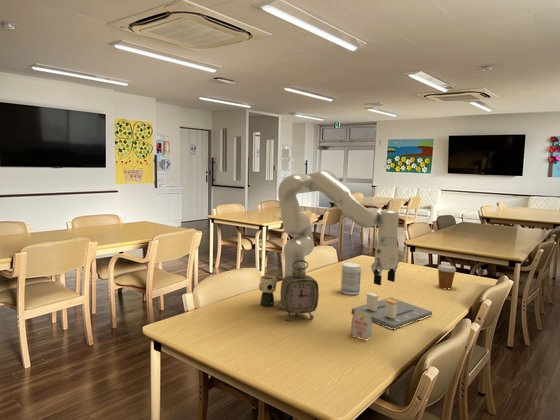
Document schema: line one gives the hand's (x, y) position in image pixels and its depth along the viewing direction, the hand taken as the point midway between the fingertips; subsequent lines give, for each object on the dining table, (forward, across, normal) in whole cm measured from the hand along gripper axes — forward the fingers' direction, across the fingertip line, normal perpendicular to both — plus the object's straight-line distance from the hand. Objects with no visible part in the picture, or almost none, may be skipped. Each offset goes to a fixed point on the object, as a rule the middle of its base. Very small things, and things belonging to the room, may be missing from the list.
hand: (384, 282), depth 165 cm
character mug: (+18, -26, +44) cm, 54 cm away
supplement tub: (+18, +21, +36) cm, 46 cm away
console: (+18, +14, +5) cm, 23 cm away
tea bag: (+18, -16, -3) cm, 25 cm away
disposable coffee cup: (+18, +74, +14) cm, 77 cm away
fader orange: (+16, +6, 0) cm, 17 cm away
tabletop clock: (+18, -24, +25) cm, 39 cm away
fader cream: (+16, +6, +10) cm, 20 cm away
